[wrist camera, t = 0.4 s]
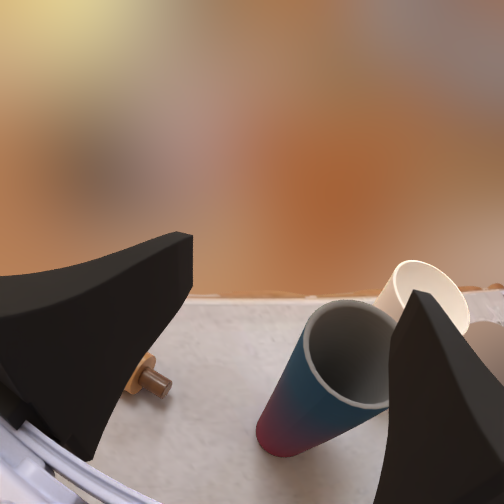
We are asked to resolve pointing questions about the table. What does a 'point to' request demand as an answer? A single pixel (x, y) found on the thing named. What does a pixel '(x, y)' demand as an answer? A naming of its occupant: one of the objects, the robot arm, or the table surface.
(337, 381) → the cup
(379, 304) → the mug
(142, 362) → the rolling pin
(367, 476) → the table surface
